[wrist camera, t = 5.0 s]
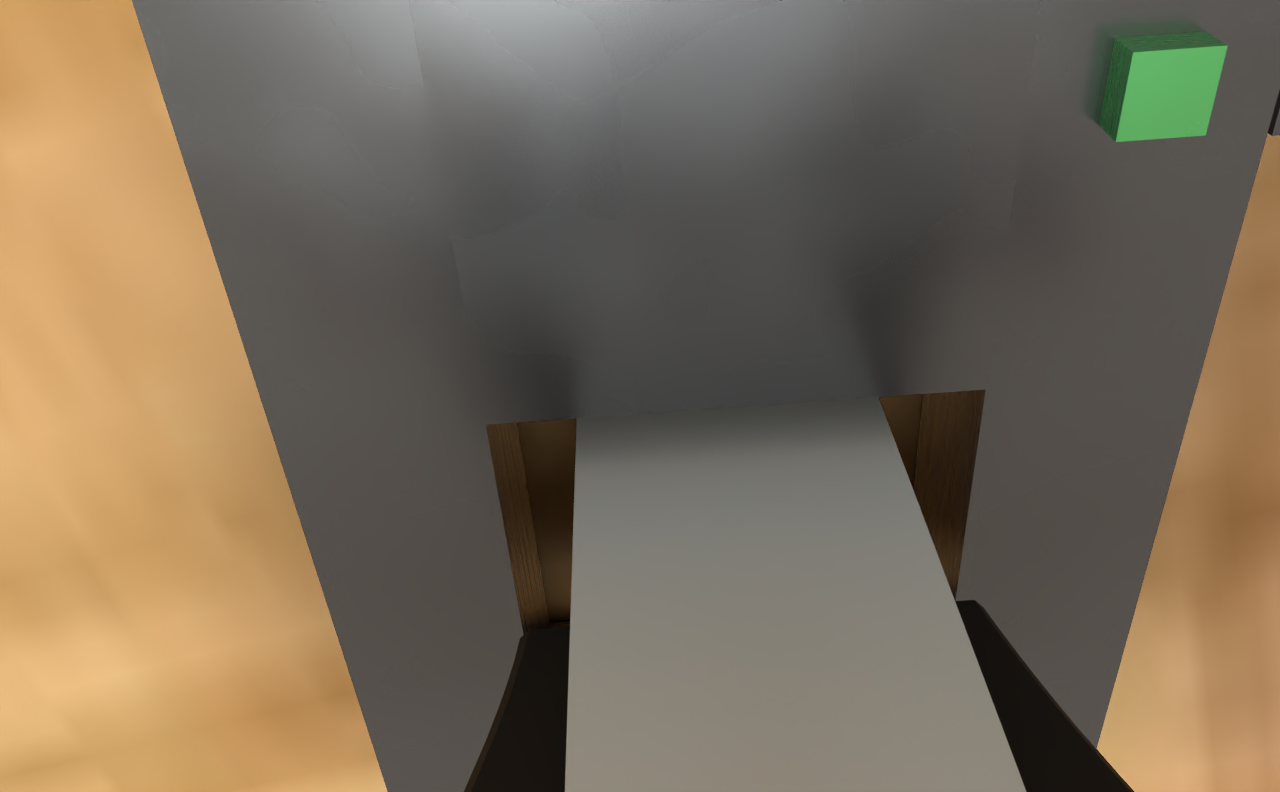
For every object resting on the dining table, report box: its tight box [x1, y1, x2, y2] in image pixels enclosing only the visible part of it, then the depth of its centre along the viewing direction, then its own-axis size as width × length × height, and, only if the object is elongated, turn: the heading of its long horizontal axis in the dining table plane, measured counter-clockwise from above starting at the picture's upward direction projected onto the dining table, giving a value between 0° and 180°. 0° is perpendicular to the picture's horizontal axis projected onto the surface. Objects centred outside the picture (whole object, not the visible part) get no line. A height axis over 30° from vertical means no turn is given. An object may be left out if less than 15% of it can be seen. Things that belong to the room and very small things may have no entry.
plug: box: [565, 397, 1026, 792], centre depth 11 cm, size 4×4×8 cm
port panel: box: [132, 0, 1280, 792], centre depth 14 cm, size 10×16×3 cm, turn 4°
